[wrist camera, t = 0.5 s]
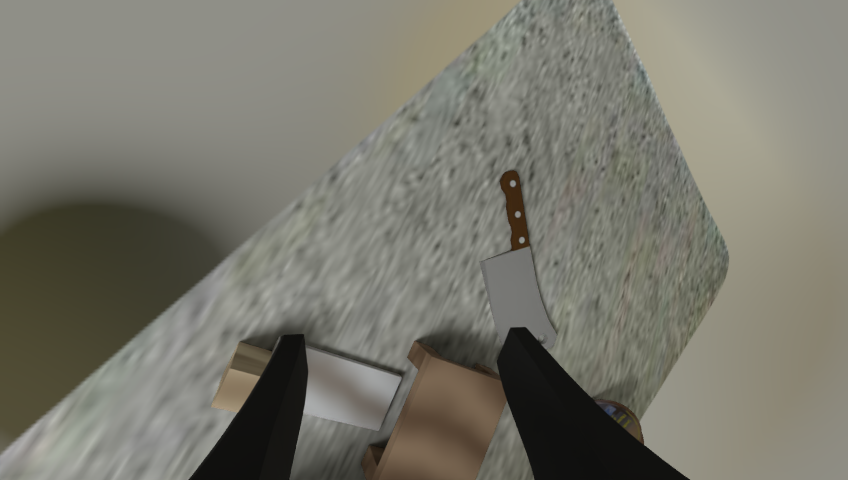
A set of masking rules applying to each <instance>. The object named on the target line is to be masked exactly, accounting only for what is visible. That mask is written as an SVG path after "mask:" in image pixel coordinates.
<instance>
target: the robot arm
mask: <svg viewBox="0 0 848 480" xmlns="http://www.w3.org/2000/svg"><path fill="white" fill-rule="evenodd" d="M497 365H498V370H499V374H500V378H501V382H502V386H503V390H504V393H505V396H506V399H507V401H508V404H509V407H510V410H511V412H512V415H513V418H514V420H515V423H516V426H517V428H518V431H519V434H520V436H521V439H522V442H523V444H524V447H525V450H526V453H527V456H528V459H529V462H530V465H531V468H532V471H533V475H534V479H535V480H690V479H688V478H687V477H685V476H684V475H683V474H681V473H680V472H678V471H677V470H676V469H674V468H673V467H672V466H670V465H669V464H668V463H666V462H665V461H664V460H662V459H661V458H660V457H659V456H657V455H656V454H655V453H654V452H652V451H651V450H650V449H649V448H647V447H646V446H644V445H643V444H642V443H641V442H640V441H639V440H637V439H636V438H635V437H634V436H632V435H631V434H630V433H629V432H628V431H627V430H626V429H624V428H623V427H622V426H621V425H620V424H619V423H618V422H616V421H615V420H614V419H613V418H612V417H611V416H610V415H609V414H607V413H606V412H605V411H604V410H603V409H602V408H601V407H600V406H599V405H598V404H597V403H596V402H595V401H594V400H593V399H592V398H591V397H590V396H589V395H588V394H587V393H586V392H585V391H584V390H583V389H582V388H581V387H580V386H579V385H578V384H577V383H576V382H575V381H574V380H573V379H572V378H571V377H570V376H569V375H568V373H567V372H566V371H565V370H564V369H563V368H562V367H561V366H560V365H559V364H558V363H557V362H556V360H555V359H554V358H553V357H552V356H551V355H550V354H549V353H548V351H547V350H546V349H545V348H544V347H543V346H542V345H541V343H540V342H539V341H538V340H537V339H536V338H535V337H534V336H533V334H532V333H531V332H530V331H529V330H528V329H527V328H526V327H510V329H509V332H508V334H507V337H506V339H505V342H504V345H503V347H502V350H501V352H500V355H499V357H498V360H497ZM308 372H309V371H308V363H307V355H306V347H305V339H304V334H295V335H283V336H282V337H281V338H280V340H279V343H278V345H277V347H276V349H275V351H274V353H273V355H272V357H271V359H270V360H269V362H268V364H267V366H266V368H265V369H264V371H263V373H262V375H261V376H260V378H259V380H258V381H257V383H256V385H255V386H254V388H253V390H252V391H251V393H250V395H249V396H248V398H247V399H246V401H245V403H244V404H243V406H242V407H241V409H240V410H239V412H238V413H237V415H236V416H235V417H234V419H233V420H232V422H231V423H230V425H229V426H228V428H227V429H226V431H225V432H224V434H223V435H222V436H221V438H220V439H219V441H218V442H217V443H216V445H215V446H214V447H213V449H212V450H211V451H210V453H209V454H208V455H207V457H206V458H205V459H204V461H203V462H202V463H201V465H200V466H199V467H198V468H197V470H196V471H195V472H194V474H193V475H192V476H191V477H190V479H189V480H289V477H290V473H291V468H292V463H293V459H294V454H295V449H296V444H297V440H298V435H299V430H300V426H301V421H302V416H303V411H304V406H305V400H306V391H307V382H308Z"/></svg>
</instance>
